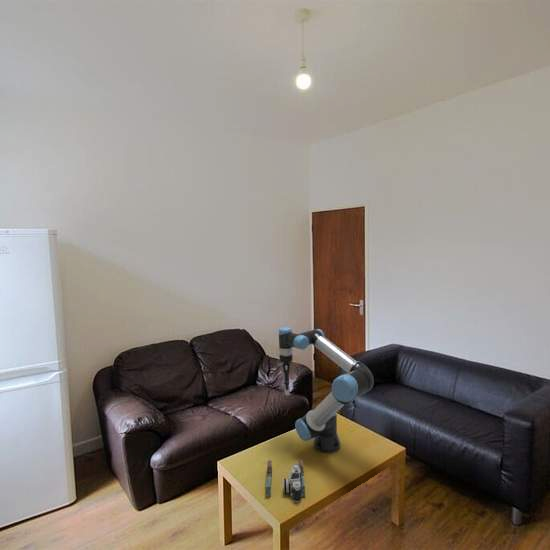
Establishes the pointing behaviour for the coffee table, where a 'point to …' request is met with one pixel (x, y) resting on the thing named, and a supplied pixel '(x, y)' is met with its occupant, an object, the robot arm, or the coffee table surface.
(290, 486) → the camera
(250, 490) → the coffee table surface
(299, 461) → the rail
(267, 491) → the rail
